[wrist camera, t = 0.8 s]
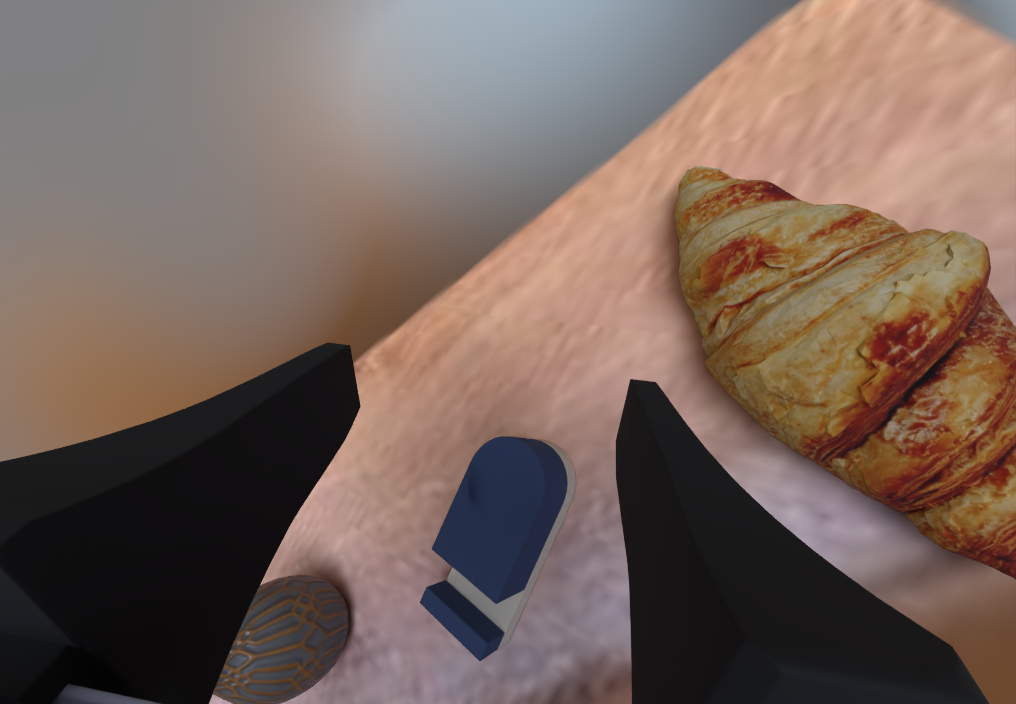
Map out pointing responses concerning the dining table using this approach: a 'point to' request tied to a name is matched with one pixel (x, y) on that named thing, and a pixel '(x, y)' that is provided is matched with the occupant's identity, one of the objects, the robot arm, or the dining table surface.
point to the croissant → (861, 351)
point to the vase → (285, 641)
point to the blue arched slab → (499, 538)
